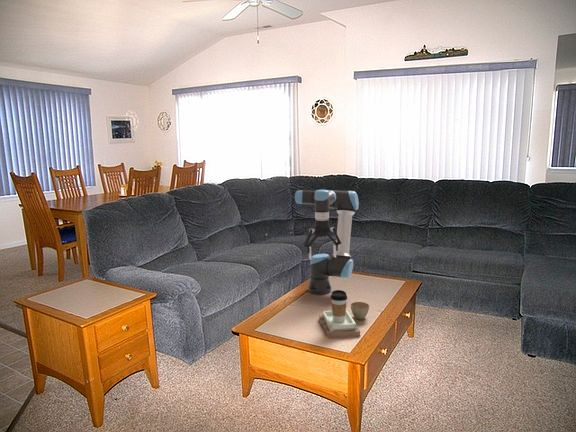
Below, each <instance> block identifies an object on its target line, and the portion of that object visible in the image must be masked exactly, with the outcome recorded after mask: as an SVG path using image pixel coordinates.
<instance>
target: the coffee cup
mask: <svg viewBox="0 0 576 432" xmlns="http://www.w3.org/2000/svg"><path fill="white" fill-rule="evenodd" d="M347 299H348V296H347V292H346V291H345V290H341V289H337V290H333V291H331V295H330V300H331V303H330V304H331V311H332V314H333V322H335V323H343V322H344V321H345V313H346V310H347V304H348V303H347Z"/></svg>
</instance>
